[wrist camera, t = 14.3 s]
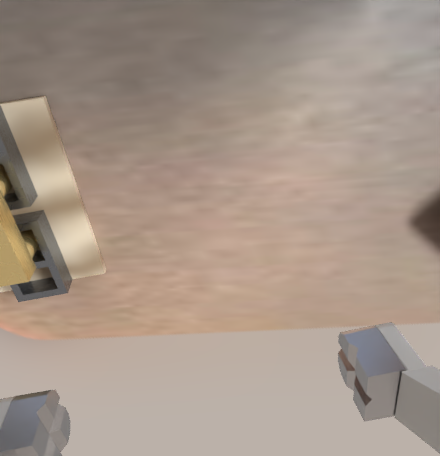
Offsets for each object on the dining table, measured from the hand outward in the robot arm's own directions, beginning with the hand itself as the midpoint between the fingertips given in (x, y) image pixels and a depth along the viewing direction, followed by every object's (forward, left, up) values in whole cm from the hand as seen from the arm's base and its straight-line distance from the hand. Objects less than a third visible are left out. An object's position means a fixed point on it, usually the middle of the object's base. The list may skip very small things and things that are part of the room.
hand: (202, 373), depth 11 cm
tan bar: (+6, -18, -30) cm, 35 cm away
